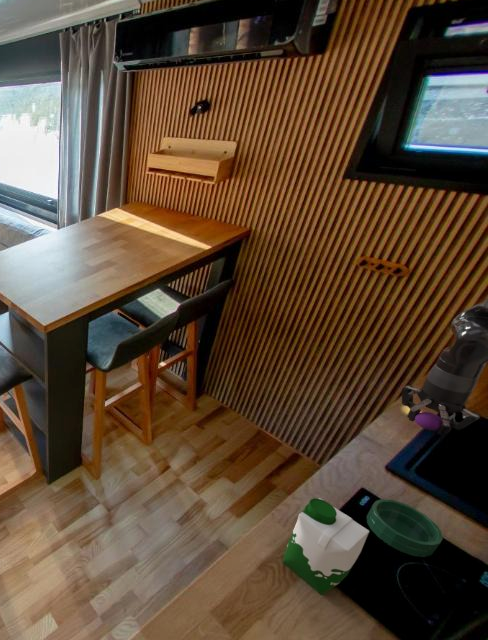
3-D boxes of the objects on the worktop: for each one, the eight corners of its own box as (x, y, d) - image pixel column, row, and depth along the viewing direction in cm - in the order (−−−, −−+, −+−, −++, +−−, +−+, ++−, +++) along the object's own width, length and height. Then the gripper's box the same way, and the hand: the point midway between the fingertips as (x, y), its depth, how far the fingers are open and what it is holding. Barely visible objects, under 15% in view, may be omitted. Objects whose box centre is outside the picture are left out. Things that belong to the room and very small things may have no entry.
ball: (418, 418, 107) (424, 406, 105) (444, 430, 103) (451, 417, 101) (407, 424, 106) (413, 412, 104) (433, 436, 102) (440, 424, 100)
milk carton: (298, 540, 86) (320, 487, 77) (348, 580, 78) (380, 526, 70) (275, 560, 83) (296, 507, 75) (325, 603, 75) (354, 550, 67)
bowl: (381, 506, 89) (389, 492, 87) (443, 547, 80) (454, 533, 78) (354, 523, 87) (361, 509, 85) (415, 567, 78) (425, 553, 76)
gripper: (502, 393, 92) (473, 439, 99) (420, 362, 104) (399, 405, 111) (484, 404, 90) (456, 450, 97) (403, 371, 103) (383, 414, 110)
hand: (426, 426), depth 104 cm, fingers closed on ball, 5 cm apart
